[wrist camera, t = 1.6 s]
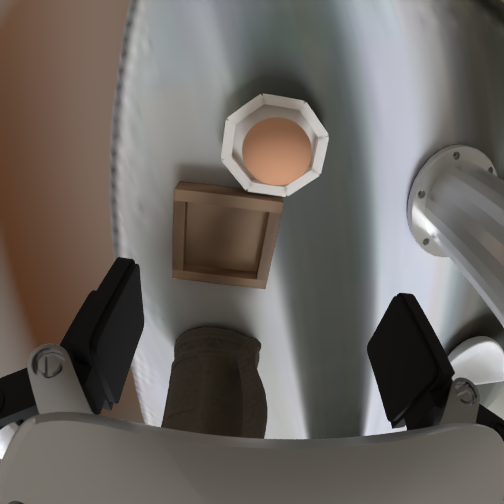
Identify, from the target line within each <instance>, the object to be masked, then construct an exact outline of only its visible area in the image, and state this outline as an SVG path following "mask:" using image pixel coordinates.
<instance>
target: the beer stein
mask: <svg viewBox="0 0 504 504" xmlns="http://www.w3.org/2000/svg"><path fill="white" fill-rule="evenodd" d="M260 349H261V343H260V342H259V341H258V340H257V339H255V338H252V337H251V338H247V337H245V336H243V335H241V334H239V333H237V332H234V331H231V330H227V329H221V328H212V327H203V328H197V329H193V330H190V331H187V332H185V333H183V334H182V335H181V336H180V337H179V338H178V339H177V341H176V343H175V347H174V357H175V359H174V362H173V363H172V367H171V376H170V381H169V389H168V394H167V400H166V405H165V411H164V416H163V421H162V425H161V428H167V429H174V430H180V431H186V432H193V433H201V434H209V435H218V436H228V437H241V438H257V439H264V436H265V431H266V424H267V402H266V394H265V390H264V387H263V384H262V381H261V379H260V376H259V374H258V371H257V367H258V362H259V351H260Z"/></svg>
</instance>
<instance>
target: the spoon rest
mask: <svg viewBox="0 0 504 504" xmlns="http://www.w3.org/2000/svg"><path fill="white" fill-rule="evenodd" d="M448 359H449V361H450V363H451V365H452V367H453V369H454V371H455V374H454V375H453V377H452V380H453V381H454V380H455V379H456V378H460V377H462V378H466V379H469V380H470V381H471V382H473V383H474V385H476V384H484V383H492V382H500V381H504V351H503V349H502V347H501V346H500V345H499V343H497V342H496V341H495V340H493V339H492V338H490V337H487V336H477V337H473V338H470V339H468V340H466V341H464V342H462V343H461V344H459V345H458V346H457V347H456V348H455V349H454V350H453V351H452V352H451V353H450V354H449V356H448Z"/></svg>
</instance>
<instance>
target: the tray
mask: <svg viewBox="0 0 504 504" xmlns="http://www.w3.org/2000/svg"><path fill="white" fill-rule="evenodd" d="M283 204H284V202H283V198H282V196H276V195H269V194H262V193H255V192H248V189H247V190H245V189H241V188H233V187H225V186H217V185H208V184H199V183H189V182H179V183H178V185H177V186H176V188H175V189H174V212H173V278H177V279H184V280H192V281H200V282H208V283H216V284H225V285H233V286H242V287H251V288H260V289H265V288H266V284H267V279H268V275H269V270H270V265H271V261H272V256H273V252H274V247H275V242H276V238H277V233H278V228H279V224H280V219H281V214H282V209H283Z"/></svg>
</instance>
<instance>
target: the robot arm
mask: <svg viewBox="0 0 504 504" xmlns="http://www.w3.org/2000/svg"><path fill="white" fill-rule="evenodd" d="M407 217H408V225H409V228H410V231H411V234H412V235H413V237H414V239H415V241H416V242H417V243H418V244H419V246H420V247H421V248H422V249H424V250H425V251H426V252H427V253H429V254H431V255H434V256H438V257H449V258H450V259H451V260H452V261H453V262H454V264H455V265H456V266H457V267H458V268H459V269H460V271H461V272H462V273H463V274H464V276H465V277H466V278H467V279H468V280H469V282H470V283H471V284H472V285H473V287H474V288H475V289H476V291H477V292H478V293H479V294H480V296H481V297H482V298H483V300H484V301H485V302H486V304H487V305H488V306H489V308H490V309H491V310H492V312H493V313H494V315H495V316H496V317H497V319H498V320H499V322H500V323H501V324H502V326H503V327H504V180H502V179H500V178H499V177H498V176H497V173H496V170H495V167H494V166H493V164H492V162H491V160H490V159H489V158H488V157H487V156H486V155H485V154H484V153H483V152H481V151H480V150H478V149H476V148H474V147H471V146H468V145H463V144H459V145H452V146H449V147H446V148H443V149H442V150H440V151H438V152H437V153H435V154H434V155H433V156H432V157H431V158H430V159H429V160H428V161H427V162H426V163H425V164H424V166H423V167H422V168H421V170H420V171H419V173H418V175H417V177H416V178H415V180H414V183H413V185H412V188H411V191H410V195H409V200H408V209H407ZM143 328H144V313H143V303H142V292H141V281H140V268H139V265H138V264H135V261H134V260H133V259H127V258H121V257H118V258H117V259H116V260H115V262H114V264H113V265H112V267H111V268H110V270H109V271H108V273H107V275H106V276H105V278H104V279H103V281H102V283H101V284H100V286H99V288H98V289H97V291H95V290H93V291H91V293H90V294H89V295H88V297H87V298H86V300H85V302H84V303H83V305H82V307H81V309H80V310H79V312H78V313H77V315H76V317H75V319H74V320H73V322H72V324H71V326H70V327H69V329H68V331H67V333H66V334H65V336H64V338H63V340H62V342H61V344H60V346H59V345H56V344H46V345H42V346H40V347H38V348H36V349H35V350H34V351H33V352H32V353H31V355H30V356H29V358H28V362H27V368H25V369H22V370H20V371H17V372H15V373H12V374H10V375H7V376H5V377H2V378H0V463H1V464H0V504H504V420H503V419H501V418H500V417H498V416H497V415H495V414H494V413H492V412H491V411H489V410H488V409H487V408H485V407H484V406H482V405H481V404H479V403H480V394H479V391H478V389H477V387H476V386H475V385H474V383H473V382H471V381H470V380H469V379H466V378H462V377H460V378H456V379H455V380H454V381H453V380H452V377H453V375H454V374H455V371H454V369H453V367H452V365H451V363H450V361H449V359H448V357H447V355H446V353H445V351H444V349H443V347H442V345H441V343H440V341H439V339H438V337H437V336H436V334H435V332H434V330H433V328H432V326H431V324H430V323H429V321H428V319H427V317H426V315H425V314H424V312H423V310H422V308H421V307H420V305H419V303H418V301H417V300H416V298H415V296H414V295H413V294H407V293H399V294H397V296H395V297H393V299H392V301H391V303H390V305H389V306H388V308H387V310H386V312H385V314H384V316H383V318H382V320H381V321H380V323H379V325H378V327H377V329H376V331H375V332H374V334H373V336H372V338H371V339H370V341H369V343H368V346H367V353H368V356H369V359H370V362H371V365H372V369H373V372H374V375H375V378H376V382H377V385H378V388H379V392H380V395H381V399H382V402H383V406H384V409H385V413H386V416H387V419H388V421H390V422H391V425H392V429H393V428H400V427H404V426H405V425H406V427H407V431H402V432H395V433H388V434H380V435H371V436H361V437H348V438H333V439H296V440H293V439H257V438H241V437H228V436H218V435H209V434H201V433H193V432H186V431H180V430H174V429H167V428H161V427H156V426H150V425H145V424H140V423H135V422H130V421H126V420H121V419H116V418H110V417H106V416H101V415H98V414H100V413H101V410H102V408H104V409H107V410H111V409H112V406H113V403H116V404H117V403H118V402H119V400H120V396H121V393H122V390H123V387H124V383H125V381H126V377H127V374H128V371H129V368H130V365H131V362H132V360H133V357H134V354H135V351H136V348H137V345H138V342H139V339H140V337H141V334H142V331H143Z"/></svg>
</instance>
